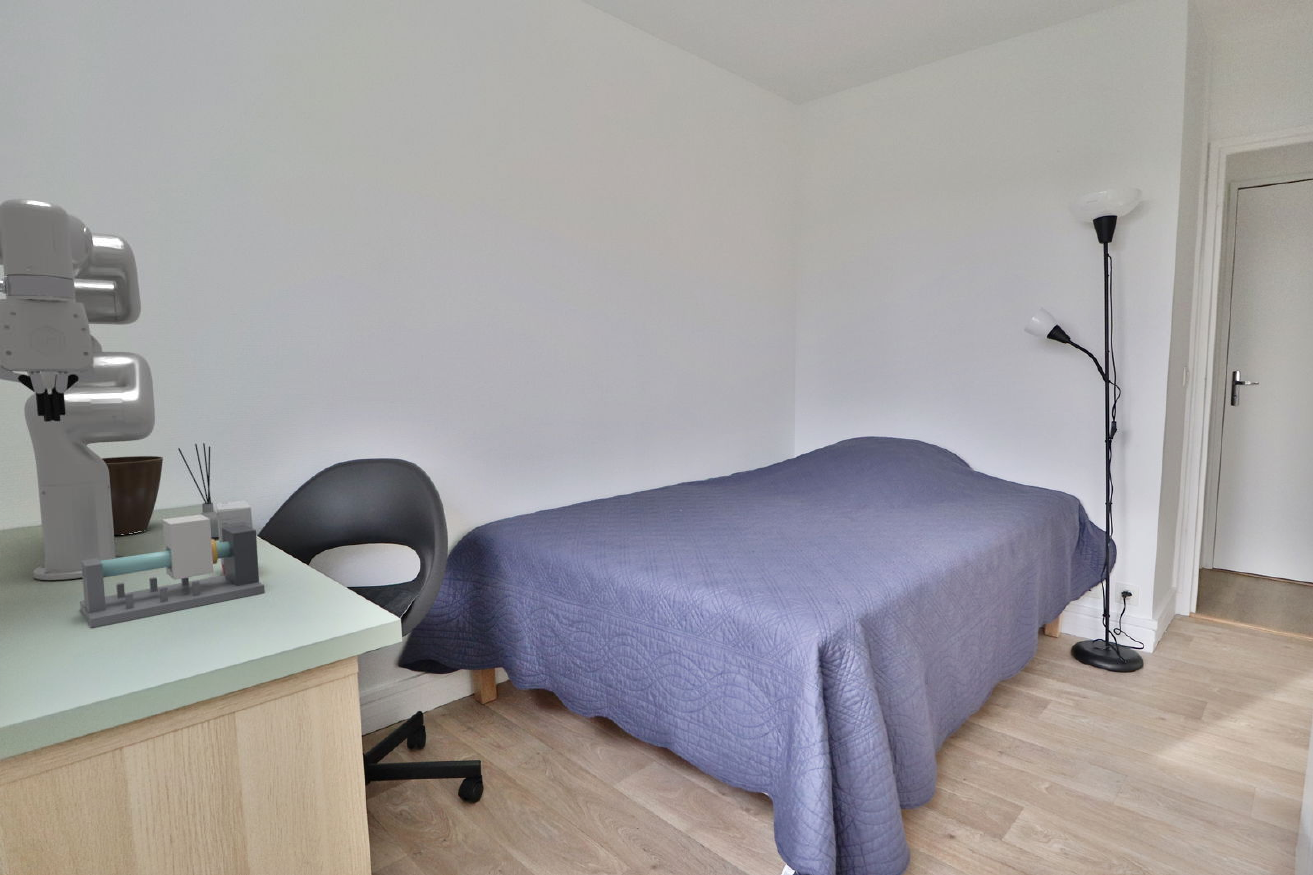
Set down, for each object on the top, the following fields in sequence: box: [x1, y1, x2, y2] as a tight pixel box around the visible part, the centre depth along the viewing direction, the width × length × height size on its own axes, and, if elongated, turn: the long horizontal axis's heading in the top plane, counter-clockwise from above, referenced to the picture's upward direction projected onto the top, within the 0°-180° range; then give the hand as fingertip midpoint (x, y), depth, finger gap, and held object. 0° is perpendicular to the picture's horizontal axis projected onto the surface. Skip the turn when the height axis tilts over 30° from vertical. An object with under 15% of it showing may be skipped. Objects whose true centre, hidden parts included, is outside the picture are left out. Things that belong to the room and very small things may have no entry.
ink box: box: [215, 500, 254, 575], centre depth 120 cm, size 9×5×12 cm, turn 33°
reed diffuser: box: [177, 442, 219, 538], centre depth 146 cm, size 10×7×20 cm
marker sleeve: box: [161, 514, 215, 581], centre depth 107 cm, size 5×5×8 cm
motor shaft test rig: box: [79, 525, 265, 628], centre depth 105 cm, size 21×11×9 cm, turn 135°
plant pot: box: [100, 455, 164, 535], centre depth 154 cm, size 15×15×16 cm
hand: (52, 420), depth 103 cm, fingers closed
